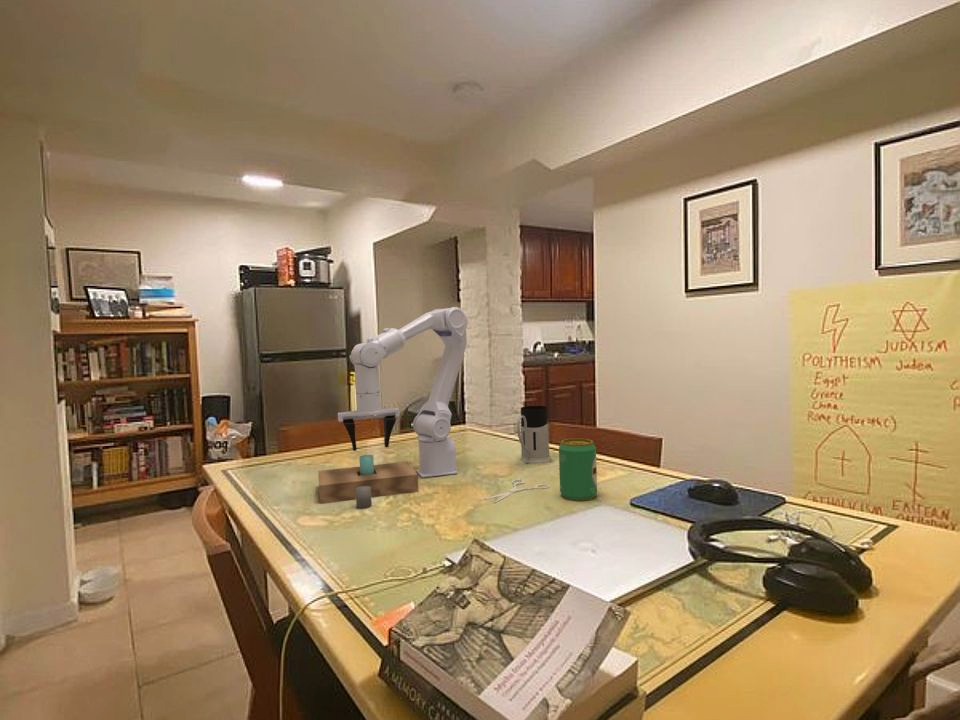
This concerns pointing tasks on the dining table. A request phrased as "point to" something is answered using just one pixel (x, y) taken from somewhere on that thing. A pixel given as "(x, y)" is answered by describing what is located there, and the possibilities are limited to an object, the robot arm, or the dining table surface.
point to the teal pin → (366, 465)
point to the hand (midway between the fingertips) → (370, 448)
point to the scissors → (517, 489)
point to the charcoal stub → (363, 497)
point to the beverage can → (578, 469)
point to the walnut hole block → (367, 481)
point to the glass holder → (534, 434)
